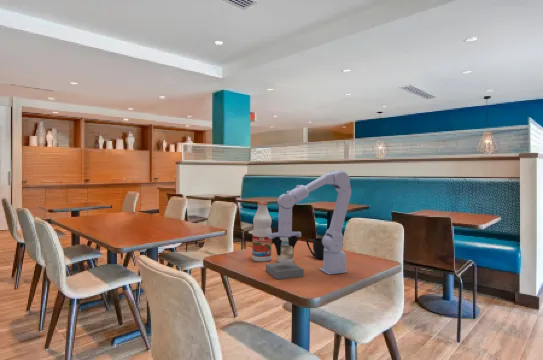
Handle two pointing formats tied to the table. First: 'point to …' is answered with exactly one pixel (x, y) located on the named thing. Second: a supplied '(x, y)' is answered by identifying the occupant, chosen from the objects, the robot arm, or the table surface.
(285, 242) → the milk bottle
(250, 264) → the table surface
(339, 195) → the robot arm
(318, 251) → the mug
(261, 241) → the fruit juice
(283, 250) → the maple cube
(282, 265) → the grey base
